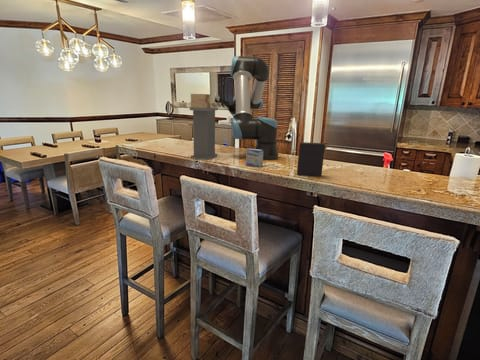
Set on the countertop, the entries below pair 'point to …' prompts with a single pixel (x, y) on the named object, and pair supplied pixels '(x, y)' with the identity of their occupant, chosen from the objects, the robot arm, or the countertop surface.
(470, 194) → the countertop surface
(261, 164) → the medicine box
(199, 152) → the grey tall block
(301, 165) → the dark upright panel
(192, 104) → the mallet
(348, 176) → the countertop surface
